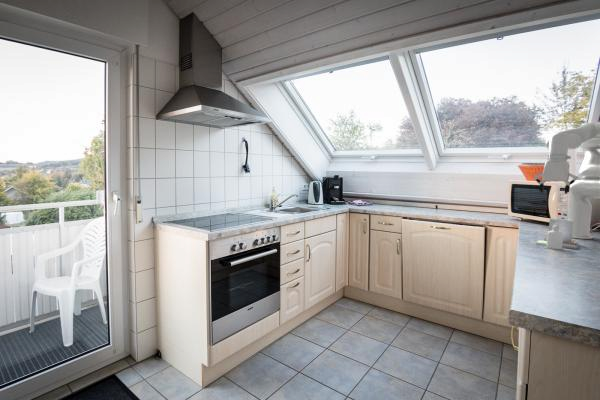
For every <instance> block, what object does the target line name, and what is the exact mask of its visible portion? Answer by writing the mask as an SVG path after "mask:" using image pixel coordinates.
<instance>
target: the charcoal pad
mask: <svg viewBox="0 0 600 400" xmlns="http://www.w3.org/2000/svg"><path fill="white" fill-rule="evenodd" d="M562 248H563V249H569V250H577V249H578V244H575V245H573V244H565V243H562Z"/></svg>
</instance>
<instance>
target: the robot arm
mask: <svg viewBox="0 0 600 400" xmlns="http://www.w3.org/2000/svg"><path fill="white" fill-rule="evenodd" d="M545 147H546V148H547V149H548V152H547V153H548V155H547V161H545V164H544V166H543V170H542V172H540V173H538V174H535V175H534V176H533V177H534V180H535V181H536V182H537V183H538V184H539V188H538V190H539V192H540V193H544V189H545V185H544V184H545V183H546V182H564V183H565V184H566V185H565V187H564V194H565V195H567V194H568V195H569V197H568V199H569V202H568V215H567V220H574V222H573V233H572V239H579V240H580V239H582V240H592V239H593V238H594V236H593V235H590V232H591V231H590V230H591V222H592V221H591V220H592V210H593V205H592V203H591V202H590V200H589V199H588V198H590V199H591V198H592V199H600V152H599V151H598V150H599V149H600V121H594V122H587V123H584V124H583V125H582V124H581V125H580V126H578V127H576V128H575V127H574V128H571V129H568V130H563V131H560V132H555V133H551V134H550V135H549V136H547V138H546V141H545ZM580 147H581V148H582V151H583V155H584V157H583V161H582V163H581V166H580V167H579V170H578V175H575V174H572V173H570V162H569V161H568V160H571V159H572V156H571V155H568V153H569V152H568V151H569V150H576V149H578V148H580ZM539 177H542V180H541V179H540V178H539ZM570 177H571V178H572V179H571V180H570V181H569V179H570Z"/></svg>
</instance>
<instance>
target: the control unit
mask: <svg viewBox="0 0 600 400" xmlns="http://www.w3.org/2000/svg"><path fill="white" fill-rule="evenodd" d="M548 222H549V224H548V232H549V231H552V228H553V225H555V223H557V225H558V226H559V231H560V232H562V233H563V242H562V243H565V244H573V245H577V244H576V243H577V240H573V238H572V233H573V222H574V220H568V219H561V218H552V217H551V218H550V219H549V221H548ZM543 241H547V237H545V238H544V239H543Z"/></svg>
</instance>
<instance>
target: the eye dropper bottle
mask: <svg viewBox="0 0 600 400" xmlns="http://www.w3.org/2000/svg"><path fill="white" fill-rule="evenodd" d="M562 242H563V233H562V232H560V231H559V226H558V225H557V223H555V225H553V228H552V231H549V230H548V232H547V246H546V248H547V249H553V250H562Z"/></svg>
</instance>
